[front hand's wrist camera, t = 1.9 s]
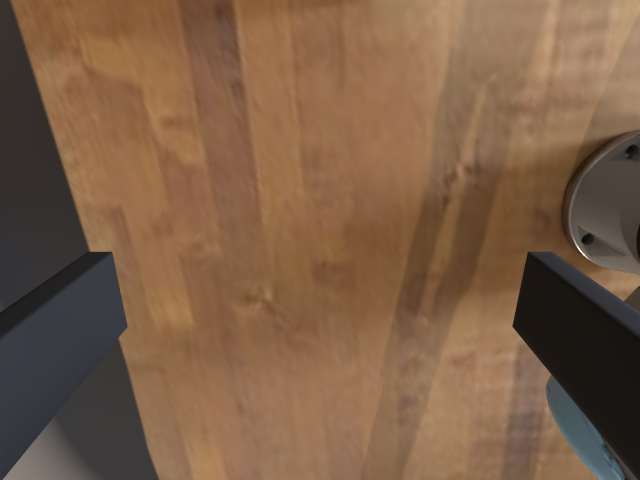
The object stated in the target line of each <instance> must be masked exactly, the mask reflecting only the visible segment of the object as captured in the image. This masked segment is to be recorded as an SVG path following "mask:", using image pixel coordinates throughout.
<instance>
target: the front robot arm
mask: <svg viewBox="0 0 640 480" xmlns="http://www.w3.org/2000/svg"><path fill="white" fill-rule="evenodd" d="M561 219H562V226H563V230H564V233H565V236H566V238H567V240H568V242H569V243H570V245H571V246H572V247H573V248H574V249H575V250H576V251H577V252H578V253H579V254H581V255H582V256H584V257H585V258H587V259H588V260H590V261H591V262H593V263H595V264H597V265H599V266H601V267H604V268H608V269H612V270H617V271H623V272H628V273H634V274H640V130H636V131H632V132H629V133H626V134H623V135H621V136H619V137H617V138H615V139H613V140H611V141H609V142H607V143H606V144H604V145H603V146H601V147H600V148H599V149H597V150H596V151H595V152H594V153H593V154H591V155H590V156H589V157H588V158H587V159H586V160H585V161H584V163H583V164H582V165H581V166H580V167H579V169H578V170H577V171H576V173H575V174H574V176H573V178H572V179H571V181H570V183H569V185H568V187H567V190H566V192H565V196H564V199H563V204H562V211H561ZM126 328H127V322H126V317H125V312H124V307H123V302H122V298H121V293H120V288H119V283H118V278H117V273H116V268H115V264H114V259H113V254H112V252H87V253H86V254H84V255H83V256H81V257H80V258H78V259H77V260H76V261H74V262H73V263H71V264H70V265H68V266H67V267H65V268H64V269H62V270H61V271H60V272H58V273H57V274H55V275H54V276H52V277H51V278H50V279H48V280H47V281H45V282H44V283H42V284H41V285H40V286H38V287H37V288H35V289H34V290H32V291H31V292H29V293H28V294H26V295H25V296H24V297H22V298H21V299H19V300H18V301H16V302H15V303H13V304H12V305H11V306H9V307H8V308H6V309H5V310H3V311H2V312H1V313H0V480H3V478H4V477H5V476H6V475H7V473H8V472H9V471H10V470H11V469H12V467H13V466H14V465H15V464H16V462H17V461H18V460H19V459H20V458H21V456H22V455H23V454H24V453H25V451H26V450H27V449H28V448H29V446H30V445H31V444H32V443H33V442H34V440H35V439H36V438H37V437H38V435H39V434H40V433H41V432H42V431H43V429H44V428H45V427H46V426H47V424H48V423H49V422H50V421H51V420H52V418H53V417H54V416H55V415H56V413H57V412H58V411H59V410H60V409H61V407H62V406H63V405H64V404H65V402H66V401H67V400H68V399H69V398H70V396H71V395H72V394H73V393H74V391H75V390H76V389H77V388H78V387H79V385H80V384H81V383H82V382H83V380H84V379H85V378H86V377H87V376H88V374H89V373H90V372H91V371H92V369H93V368H94V367H95V366H96V365H97V363H98V362H99V361H100V360H101V358H102V357H103V356H104V355H105V353H106V352H107V351H108V350H109V349H110V347H111V346H112V345H113V344H114V342H115V341H116V340H117V339H118V338H119V336H120V335H121V334H122V333H123V331H124V330H125V329H126ZM513 328H514V329H515V330H516V331H517V333H518V334H519V335H520V336H521V338H522V339H523V340H524V341H525V342H526V344H527V345H528V346H529V347H530V349H531V350H532V351H533V352H534V353H535V355H536V356H537V357H538V358H539V360H540V361H541V362H542V363H543V365H544V366H545V367H546V368H547V369H548V371H549V372H550V373H551V374H552V375H551V376H550V378H549V380H548V382H547V385H546V397H547V400H548V405H549V409H550V411H551V413H552V416H553V418H554V420H555V422H556V424H557V425H558V427H559V429H560V430H561V432H562V434H563V435H564V437H565V438H566V440H567V441H568V443H569V444H570V446H571V447H572V448H573V450H574V451H575V453H576V454H577V455H578V456H579V458H580V459H581V460H582V462H583V463H584V464H585V465H586V466H587V468H588V469H589V470H590V471H591V472H592V473H593V475H594V476H595V477H596V478H597V479H598V480H640V286H639V287H638V288H637V289H636V290H635V291H634V292H633V293H632V294H631V295H630V296H629V297H628V298H627V299H626V300H625V301H622V300H621V299H619V298H618V297H616V296H615V295H614V294H612V293H611V292H609V291H608V290H606V289H605V288H603V287H602V286H601V285H599V284H598V283H596V282H595V281H593V280H592V279H590V278H589V277H588V276H586V275H585V274H583V273H582V272H580V271H579V270H578V269H576V268H575V267H573V266H572V265H570V264H569V263H567V262H566V261H565V260H563V259H562V258H560V257H559V256H557V255H556V254H554V253H553V252H528V254H527V259H526V264H525V268H524V273H523V278H522V283H521V288H520V293H519V297H518V302H517V307H516V312H515V317H514V322H513Z"/></svg>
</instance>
